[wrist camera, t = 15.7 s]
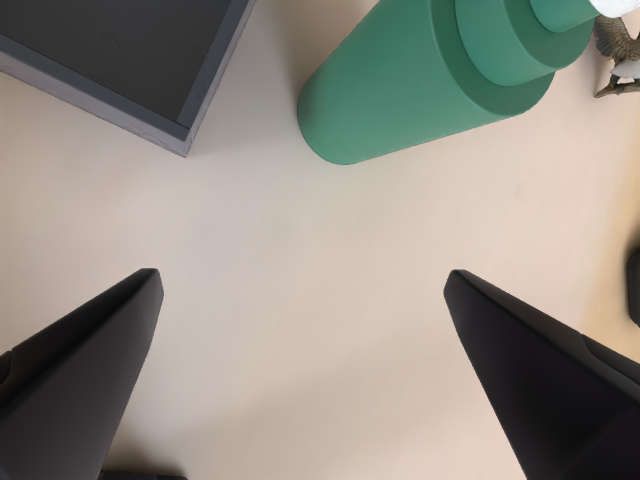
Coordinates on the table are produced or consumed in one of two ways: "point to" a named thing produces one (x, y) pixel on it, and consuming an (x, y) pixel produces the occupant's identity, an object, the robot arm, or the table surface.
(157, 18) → the tray
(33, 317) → the table surface
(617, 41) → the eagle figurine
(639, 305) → the carrying case
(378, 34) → the bottle
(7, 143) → the table surface
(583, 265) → the table surface
